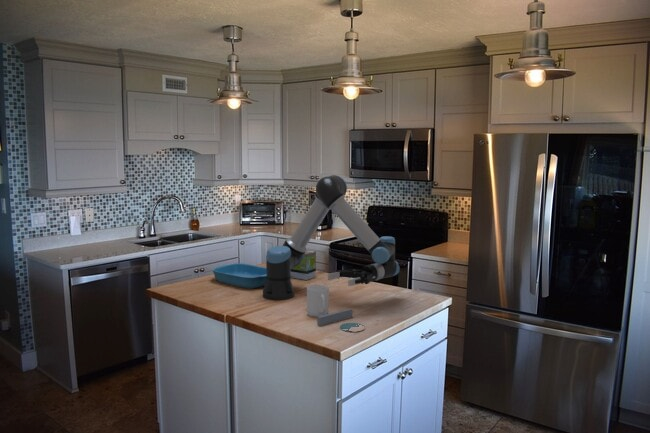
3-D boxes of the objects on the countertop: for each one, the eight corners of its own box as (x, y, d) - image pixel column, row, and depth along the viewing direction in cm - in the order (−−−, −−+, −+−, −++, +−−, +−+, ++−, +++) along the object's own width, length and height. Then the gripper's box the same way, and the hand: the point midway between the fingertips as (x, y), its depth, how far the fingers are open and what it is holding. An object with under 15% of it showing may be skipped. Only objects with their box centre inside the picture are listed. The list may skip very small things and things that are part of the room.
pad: (342, 333, 202) (342, 332, 202) (337, 324, 212) (337, 323, 212) (367, 331, 204) (367, 330, 204) (361, 323, 214) (361, 322, 213)
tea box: (316, 277, 288) (316, 250, 286) (306, 280, 280) (306, 253, 278) (294, 273, 296) (294, 247, 294) (283, 276, 288) (283, 250, 286)
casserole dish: (204, 280, 278) (204, 267, 277) (235, 273, 296) (235, 260, 295) (254, 293, 256) (254, 278, 255) (283, 283, 274) (284, 270, 273)
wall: (319, 326, 209) (319, 317, 209) (317, 325, 211) (317, 316, 210) (352, 317, 221) (352, 309, 220) (349, 316, 222) (350, 308, 222)
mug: (319, 309, 231) (320, 283, 230) (336, 316, 222) (336, 289, 220) (302, 313, 226) (302, 287, 224) (318, 320, 216) (319, 293, 215)
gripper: (392, 285, 232) (357, 294, 219) (354, 275, 251) (320, 282, 238) (392, 269, 231) (357, 276, 218) (354, 260, 250) (320, 266, 237)
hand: (338, 279), depth 228 cm, fingers open, 13 cm apart
